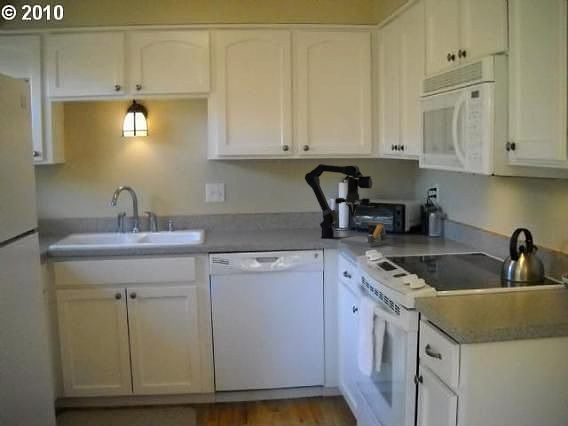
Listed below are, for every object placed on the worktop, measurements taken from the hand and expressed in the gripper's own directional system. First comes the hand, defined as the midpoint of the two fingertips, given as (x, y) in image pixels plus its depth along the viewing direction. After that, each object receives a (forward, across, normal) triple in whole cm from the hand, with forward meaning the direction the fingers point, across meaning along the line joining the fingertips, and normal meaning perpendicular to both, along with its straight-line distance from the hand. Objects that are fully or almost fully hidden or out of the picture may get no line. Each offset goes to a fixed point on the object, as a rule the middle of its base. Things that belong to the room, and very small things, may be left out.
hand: (352, 216), depth 311 cm
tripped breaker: (+10, +14, -13) cm, 21 cm away
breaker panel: (+13, +8, -10) cm, 18 cm away
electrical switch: (+13, +12, +10) cm, 21 cm away
